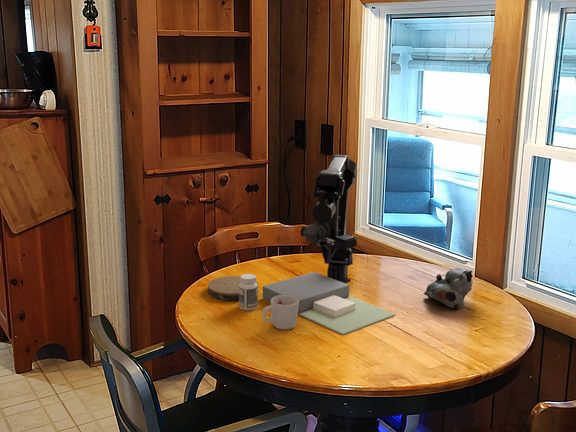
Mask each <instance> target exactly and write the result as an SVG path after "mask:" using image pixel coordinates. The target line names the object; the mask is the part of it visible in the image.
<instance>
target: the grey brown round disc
mask: <svg viewBox="0 0 576 432" xmlns="http://www.w3.org/2000/svg"><path fill="white" fill-rule="evenodd" d="M240 277H241V276H240V275H226V276H221V277H220V276H219V277H217V278H214V279H211V280H210V281H208V283H207V294H208V296H209V297H210V298H211V299H213V300H218V301H221V302H228V303H229V302H230V303H234V302H239V284H240V283H241V280H240ZM255 282H256V283H257V285H258V286H259V284H258V281H257V280H256V281H255Z"/></svg>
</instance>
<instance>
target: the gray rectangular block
mask: <svg viewBox="0 0 576 432" xmlns="http://www.w3.org/2000/svg"><path fill="white" fill-rule="evenodd" d="M278 295H290V296H294V297H296V298H298V299H299V307H298V314H300V313H303V312H306V311H309V310H312V309H314V308H313V302H315V301H318V300H321V299H323V298H326V297H329V296H332V295H335V296H338V297H341V298H343V299H346V298H349V297H350V284H349V283H346V282H344V283H343V282H340V281H337V280H335V279H332V278H330V277H327V275H324V274H321V273H318V272H316V271H312V272H308V273H306V274H302V275H297V276H294V277H291V278H287V279H284V280H280V281H277V282H273V283H270V284H266V285H264V286H262V299H264V300H265V301H268V302H269V303H271V299H272V298H273V297H275V296H278ZM298 314H297V315H298Z"/></svg>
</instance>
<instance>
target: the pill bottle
mask: <svg viewBox="0 0 576 432" xmlns="http://www.w3.org/2000/svg"><path fill="white" fill-rule="evenodd" d="M240 280H241V283H240V284H239V301H238V305H239V306H238V308H240V310H244V311H254V310H257V309H258V306H259V296H258V295H259V284H258V285H257V283H258V282H257V276H256V275H255V274H252V273H244V274H241V277H240ZM255 281H256V282H257V283H256V282H255Z"/></svg>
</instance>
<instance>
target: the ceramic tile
mask: <svg viewBox="0 0 576 432" xmlns="http://www.w3.org/2000/svg"><path fill="white" fill-rule="evenodd" d="M313 308H314V309H316V310H319V311H321V312H324V313H326V314H328V315H331V316H333V317H337V316H340V315H342V314H345V313H348V312H350V311H353V310H355V309H356V303H354V302H351V301H349V300H346V298H344V299H343V298H341V297H338V296H335V295H332V296H329V297H326V298H323V299H321V300H318V301H315V302H313Z"/></svg>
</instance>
